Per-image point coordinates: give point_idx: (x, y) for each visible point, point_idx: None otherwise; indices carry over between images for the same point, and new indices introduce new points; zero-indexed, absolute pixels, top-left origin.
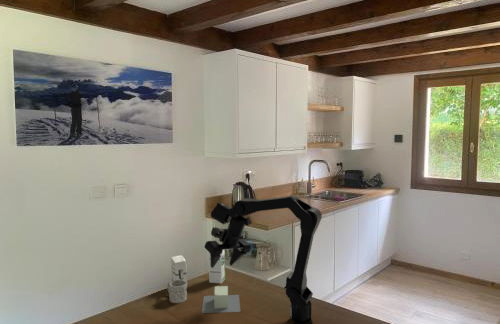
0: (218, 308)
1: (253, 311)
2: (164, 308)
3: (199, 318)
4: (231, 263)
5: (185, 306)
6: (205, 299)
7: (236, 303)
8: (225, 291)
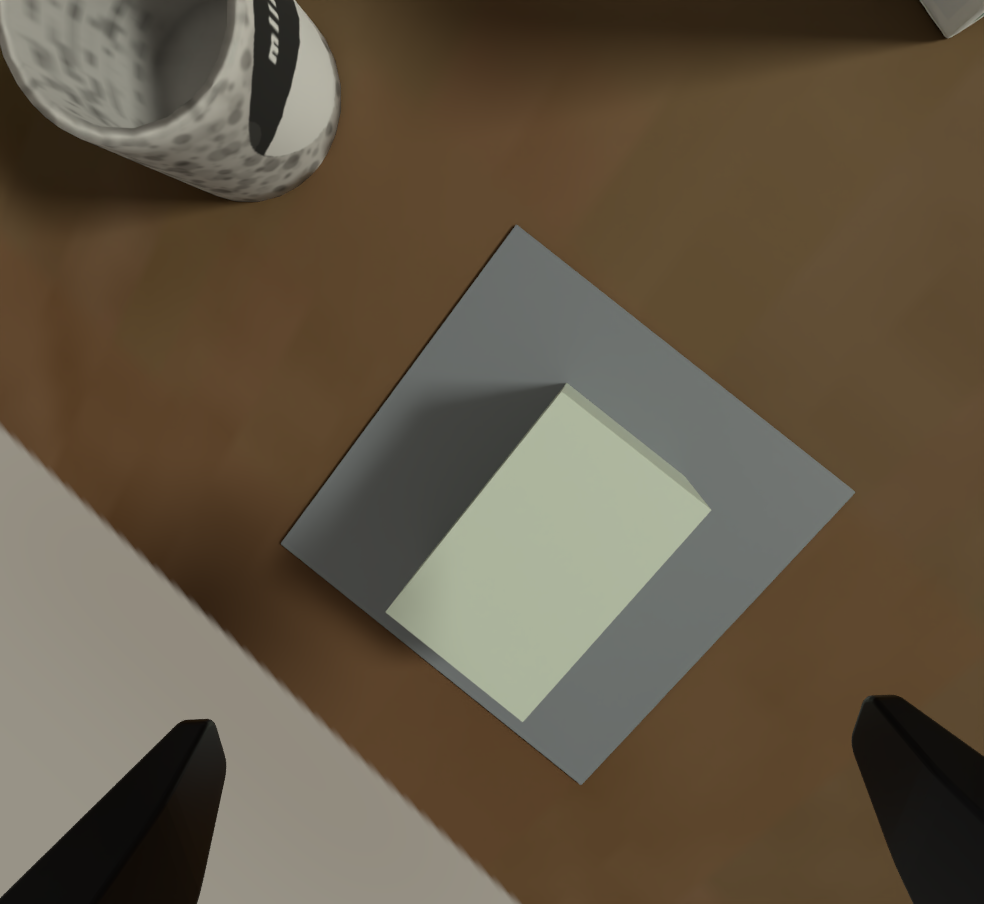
0: None
1: (684, 864)
2: (49, 197)
3: (217, 604)
4: (882, 798)
5: (230, 307)
6: (476, 318)
7: (673, 634)
8: (567, 624)
